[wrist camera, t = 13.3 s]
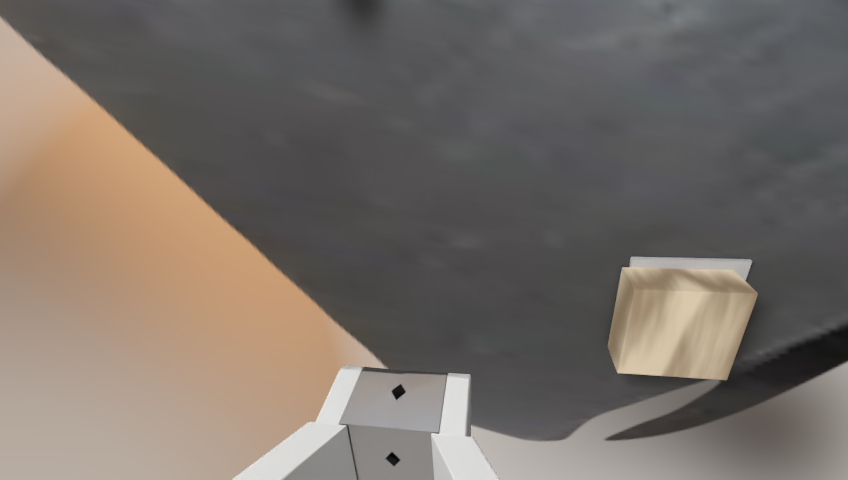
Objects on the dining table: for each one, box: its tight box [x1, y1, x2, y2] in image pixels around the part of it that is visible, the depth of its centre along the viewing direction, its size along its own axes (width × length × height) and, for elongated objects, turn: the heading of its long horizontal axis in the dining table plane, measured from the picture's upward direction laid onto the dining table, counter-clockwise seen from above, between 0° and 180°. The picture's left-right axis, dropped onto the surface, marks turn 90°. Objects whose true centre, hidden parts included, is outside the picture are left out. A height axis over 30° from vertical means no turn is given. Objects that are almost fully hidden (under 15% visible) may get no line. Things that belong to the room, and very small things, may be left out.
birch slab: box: [608, 267, 758, 380], centre depth 40 cm, size 4×10×10 cm
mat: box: [629, 257, 752, 281], centre depth 42 cm, size 10×12×1 cm
